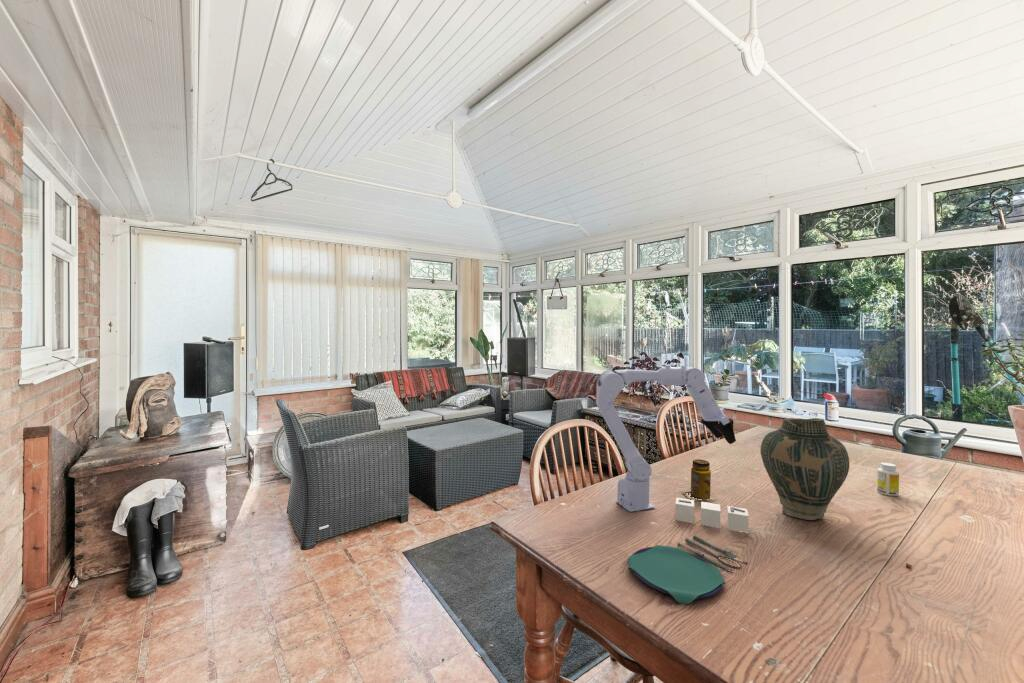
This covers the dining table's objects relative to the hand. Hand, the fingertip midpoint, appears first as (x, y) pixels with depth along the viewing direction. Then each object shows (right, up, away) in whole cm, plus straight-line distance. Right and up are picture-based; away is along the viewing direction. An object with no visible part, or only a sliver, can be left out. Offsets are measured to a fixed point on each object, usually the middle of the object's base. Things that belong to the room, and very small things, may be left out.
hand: (726, 439), depth 131 cm
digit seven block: (-4, -22, -13) cm, 26 cm away
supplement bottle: (+63, -22, +13) cm, 68 cm away
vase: (+21, -22, -4) cm, 31 cm away
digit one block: (-16, -22, -7) cm, 28 cm away
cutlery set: (-26, -23, -33) cm, 49 cm away
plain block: (-10, -22, -10) cm, 26 cm away
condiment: (-5, -22, +10) cm, 24 cm away
